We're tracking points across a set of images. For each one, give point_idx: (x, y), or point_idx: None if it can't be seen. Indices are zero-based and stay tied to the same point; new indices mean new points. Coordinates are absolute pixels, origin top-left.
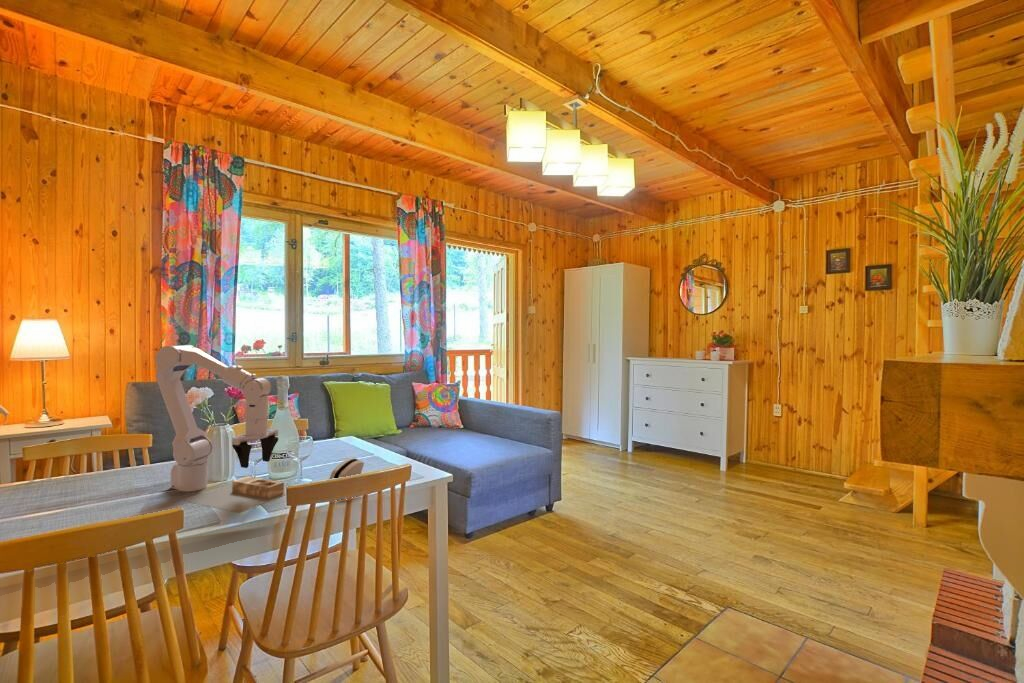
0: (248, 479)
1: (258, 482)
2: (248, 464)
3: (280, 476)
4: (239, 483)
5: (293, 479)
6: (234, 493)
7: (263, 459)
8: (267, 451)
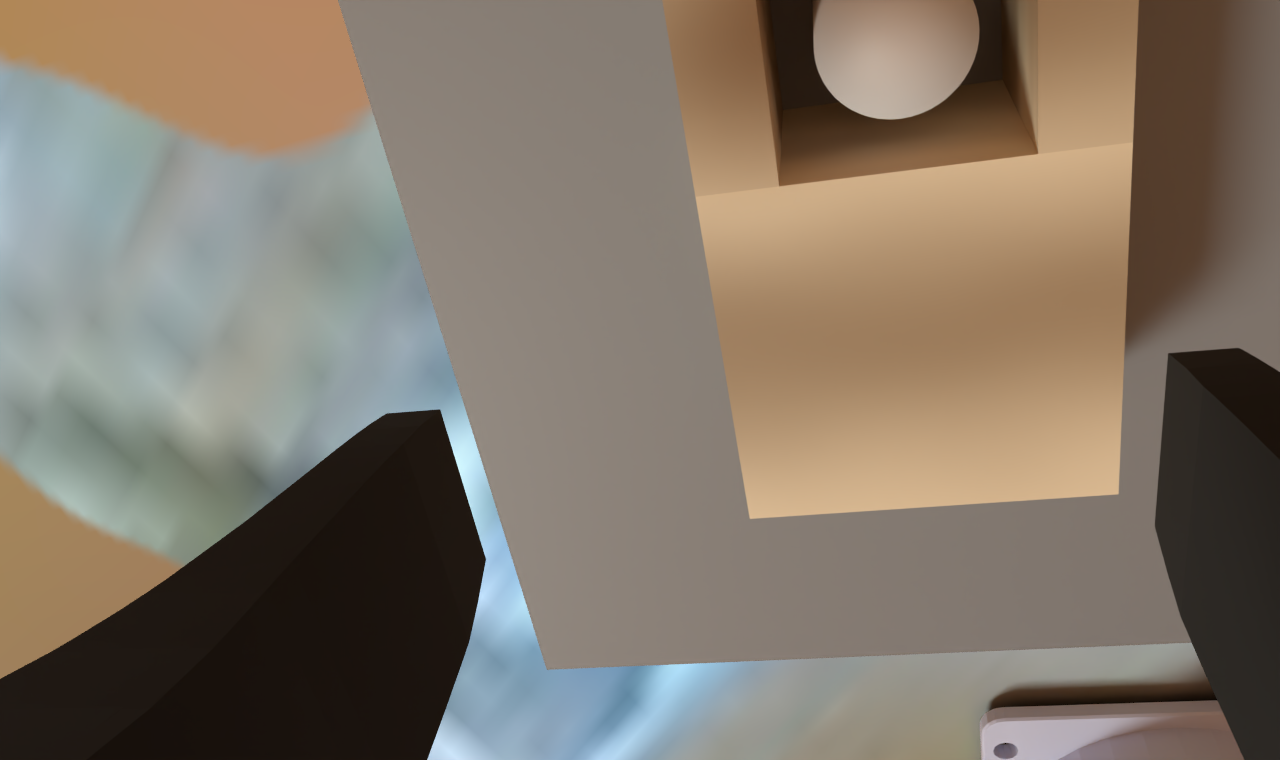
0: (890, 349)
1: (839, 92)
2: (1207, 380)
3: (109, 527)
4: (1121, 313)
5: (7, 284)
6: (1151, 260)
7: (469, 569)
8: (330, 653)
